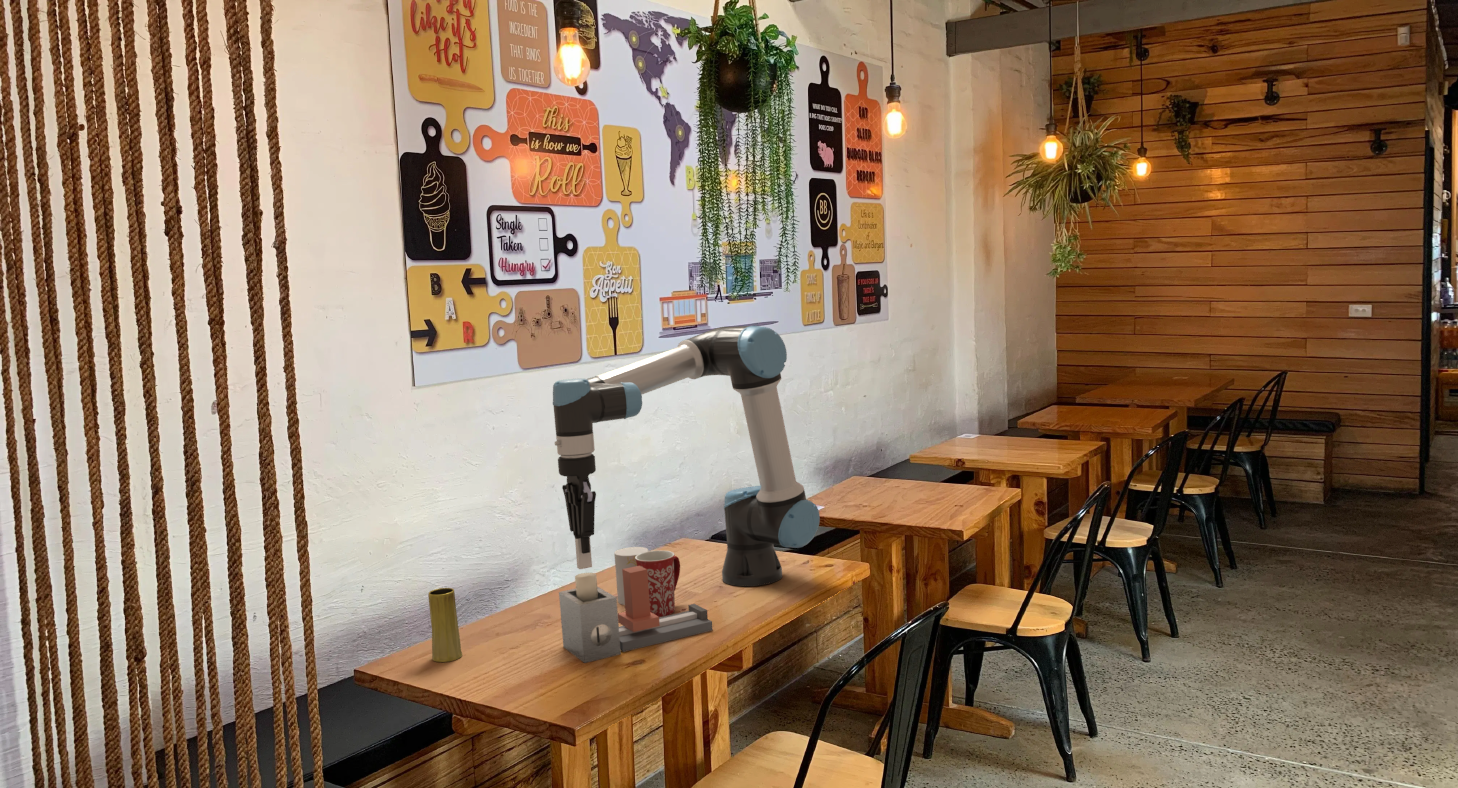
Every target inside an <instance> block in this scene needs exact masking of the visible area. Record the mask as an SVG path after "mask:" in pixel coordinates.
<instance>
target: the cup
mask: <svg viewBox="0 0 1458 788" xmlns="http://www.w3.org/2000/svg"><path fill="white" fill-rule="evenodd" d="M648 551H649V548H647V547H645V546H644V547H643V546H631V547H624V548H619V549H617V550H615V551H614V565H615V577H616V578H615V581H616V592H617V604H619V605H623V606H625V598H624V585H623V572H622V569H625V568H630V567H635V566H637V563H636V560H635V557H636V556H637V555H638V554H641V553H644V552H648Z"/></svg>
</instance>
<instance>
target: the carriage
mask: <svg viewBox="0 0 1458 788" xmlns="http://www.w3.org/2000/svg"><path fill="white" fill-rule="evenodd" d="M622 572H623V585H624V598H625V605H624V608H625V611H623V612H619V613H618V624H620V625H621V626H625V627H626V628H628V629H630V630H631V631H633V632H636V631H640V630H644V629H649V628H653V627H657V626H660V625H659V617H658V616H657V615H655V614H653V613H651V612H650V600H649V586H648V573H647V569H645V568H643V567H641V566H635V567H630V568H625V569H622Z"/></svg>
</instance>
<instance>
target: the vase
mask: <svg viewBox="0 0 1458 788" xmlns="http://www.w3.org/2000/svg"><path fill="white" fill-rule="evenodd" d="M427 595H428V607H429V616H430V624H431V625H430V626H431V650H432V651H431V655H432V657H431V658H432V661H433V662H436V663H450V662H454V661H456V660H459V659H461V658H462V656H463V652H462V646H461V638H460V630H459V629H460V628H459V624H458V623H459V621H458V614H457V613H458V612H457V608H456V607H457V605H456V594H455V589H454V588H452V587H441V588H440V587H439V588H436V589H432V590H430V591H429V592H428V594H427Z"/></svg>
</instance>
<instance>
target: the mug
mask: <svg viewBox="0 0 1458 788" xmlns="http://www.w3.org/2000/svg"><path fill="white" fill-rule="evenodd" d="M635 560H636V563H637V566H641V567H643V568H645V569H647V573H648V586H649V600H650V612H651V613H653V614H655V615H657V616H658V617H664V616H668V615H673V614H674V613H675V611H676V609H675V607H676V606H675V604H676V603H675V601H676V599H675V590H676V589H677V586H678V581H679V579H680V578H679V577H680V573H681V562H680V559H679V557H678V556H677V555H676V554H675V552H674V551H670V550H660V549H659V550H648V552H644V553H641V554H638V555H637V556H636V557H635Z"/></svg>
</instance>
